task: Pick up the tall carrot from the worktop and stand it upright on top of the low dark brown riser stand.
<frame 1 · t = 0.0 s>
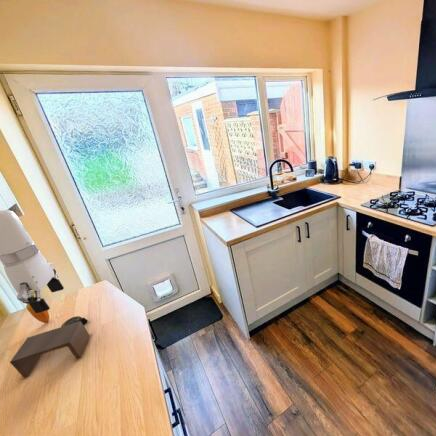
hand: (51, 300, 76), 25 cm above the countertop, tool pointing down, fingers open, 9 cm apart
tape measure: (77, 328, 98), on the countertop
carrot: (47, 323, 103), on the countertop
dark brown riser stand: (59, 355, 87), on the countertop
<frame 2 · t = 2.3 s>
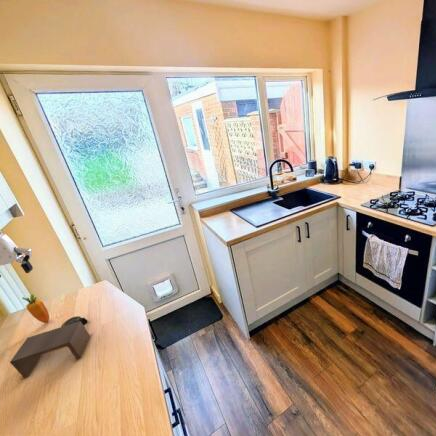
hand: (14, 275, 92), 25 cm above the countertop, tool pointing down, fingers open, 9 cm apart
nothing on the countertop moved.
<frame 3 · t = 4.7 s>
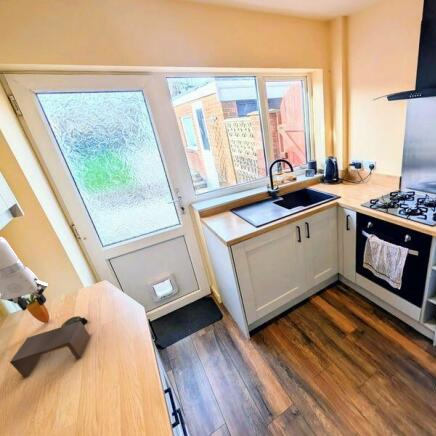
hand: (34, 305, 99), 10 cm above the countertop, tool pointing down, fingers closed on carrot, 4 cm apart
carrot: (47, 323, 103), on the countertop, touching gripper
everything else where it was.
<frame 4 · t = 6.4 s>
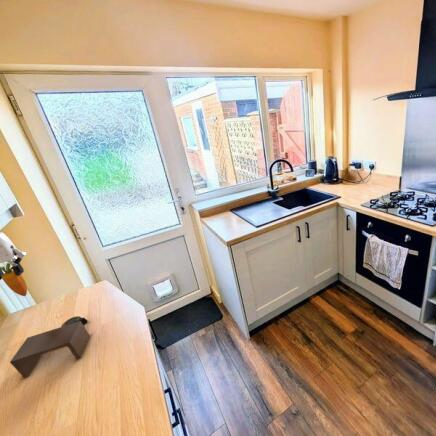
hand: (11, 275, 92), 25 cm above the countertop, tool pointing down, fingers closed on carrot, 4 cm apart
carrot: (25, 296, 96), point 15 cm above the countertop, touching gripper
everything else where it was.
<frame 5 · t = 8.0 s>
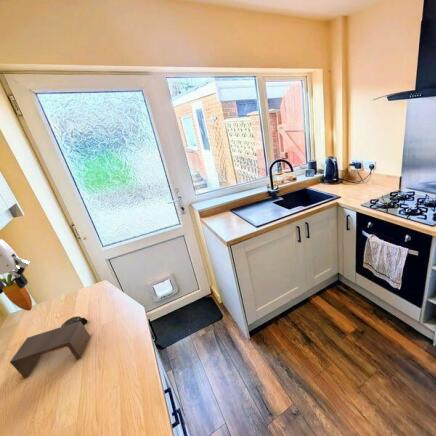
hand: (13, 288, 80), 27 cm above the countertop, tool pointing down, fingers closed on carrot, 4 cm apart
carrot: (30, 310, 85), point 17 cm above the countertop, touching gripper
everything else where it was.
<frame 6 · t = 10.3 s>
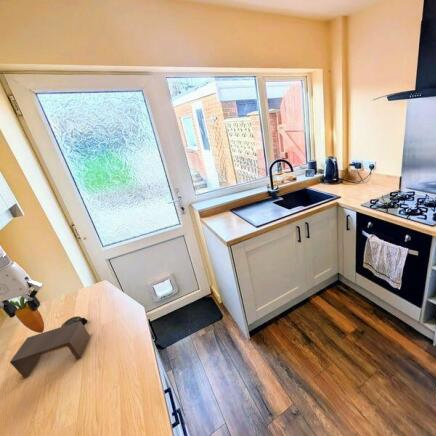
hand: (25, 310, 78), 21 cm above the countertop, tool pointing down, fingers closed on carrot, 4 cm apart
carrot: (42, 332, 83), point 11 cm above the countertop, touching gripper
everything else where it was.
when the fingers open (18 cm above the countertop, at t = 11.7 s): carrot stays where it is, resting on dark brown riser stand.
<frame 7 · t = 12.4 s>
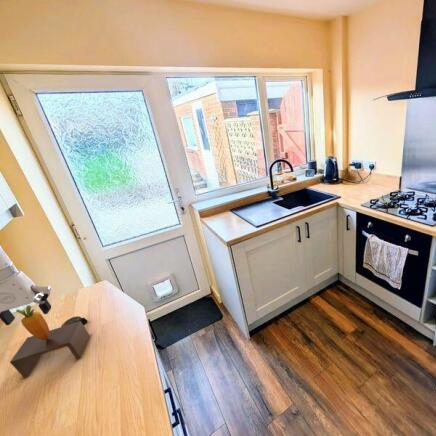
hand: (30, 316, 79), 19 cm above the countertop, tool pointing down, fingers open, 9 cm apart
carrot: (48, 340, 84), point 8 cm above the countertop, touching dark brown riser stand
everything else where it was.
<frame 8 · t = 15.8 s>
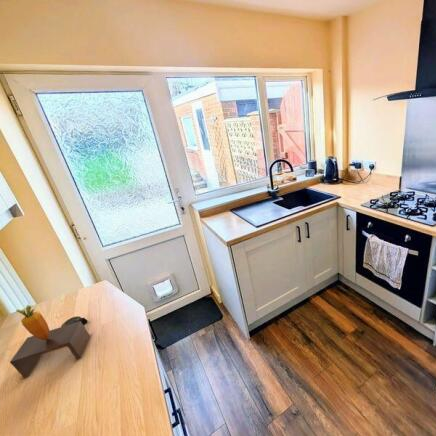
nothing on the countertop moved.
at the end: carrot inside the target area on the dark brown riser stand (0.1 cm from its centre), point 7.8 cm above the dark brown riser stand's base; carrot tilted 0°; the gripper is holding nothing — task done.
